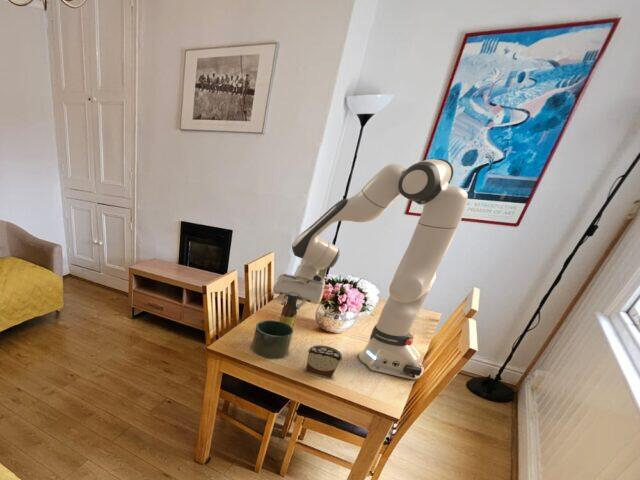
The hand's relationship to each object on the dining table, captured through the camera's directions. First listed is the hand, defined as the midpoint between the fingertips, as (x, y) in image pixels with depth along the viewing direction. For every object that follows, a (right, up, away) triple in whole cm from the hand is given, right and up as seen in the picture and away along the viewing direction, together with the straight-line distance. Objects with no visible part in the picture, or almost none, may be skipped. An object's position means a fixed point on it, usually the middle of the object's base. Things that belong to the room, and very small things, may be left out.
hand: (290, 306), depth 167 cm
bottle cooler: (-9, -18, -1) cm, 20 cm away
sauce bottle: (+1, -12, +9) cm, 15 cm away
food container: (+5, -28, -14) cm, 32 cm away
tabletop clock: (+26, +14, +44) cm, 53 cm away
